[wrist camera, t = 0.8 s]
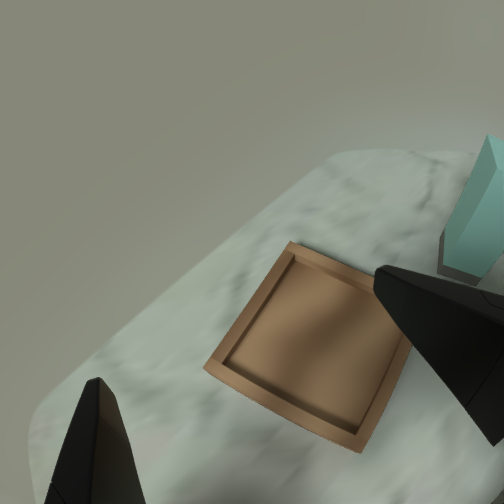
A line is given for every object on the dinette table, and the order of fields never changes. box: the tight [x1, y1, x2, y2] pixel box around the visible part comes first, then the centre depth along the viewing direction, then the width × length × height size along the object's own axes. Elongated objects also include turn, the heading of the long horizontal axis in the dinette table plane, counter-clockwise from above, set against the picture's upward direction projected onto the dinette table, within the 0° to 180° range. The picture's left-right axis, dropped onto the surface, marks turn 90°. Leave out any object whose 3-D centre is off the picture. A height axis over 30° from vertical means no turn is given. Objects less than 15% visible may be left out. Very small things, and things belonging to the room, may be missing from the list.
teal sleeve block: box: [437, 134, 504, 286], centre depth 21 cm, size 4×4×13 cm
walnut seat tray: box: [203, 241, 412, 453], centre depth 23 cm, size 13×13×2 cm
